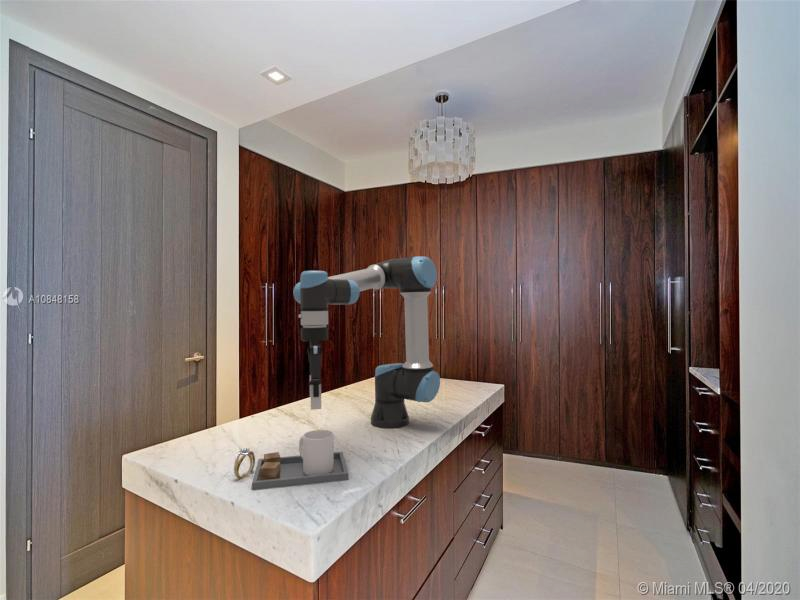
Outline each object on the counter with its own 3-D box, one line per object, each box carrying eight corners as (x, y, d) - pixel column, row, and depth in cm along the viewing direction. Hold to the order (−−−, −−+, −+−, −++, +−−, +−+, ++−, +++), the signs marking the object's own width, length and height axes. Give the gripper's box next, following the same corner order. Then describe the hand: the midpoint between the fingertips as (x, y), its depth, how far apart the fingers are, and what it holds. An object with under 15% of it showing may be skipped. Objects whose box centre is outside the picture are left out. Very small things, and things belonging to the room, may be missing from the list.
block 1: (278, 466, 115) (278, 451, 115) (280, 471, 111) (280, 456, 111) (263, 468, 113) (263, 454, 113) (265, 473, 110) (265, 459, 110)
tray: (342, 459, 121) (342, 451, 121) (348, 482, 106) (348, 473, 106) (258, 467, 116) (258, 459, 116) (251, 493, 100) (251, 483, 100)
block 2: (280, 477, 107) (280, 462, 107) (275, 483, 103) (275, 468, 103) (265, 477, 108) (265, 462, 108) (259, 483, 104) (259, 468, 104)
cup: (317, 480, 106) (317, 441, 106) (288, 469, 113) (288, 432, 113) (339, 469, 112) (339, 433, 112) (310, 459, 119) (310, 425, 119)
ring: (249, 472, 112) (249, 444, 112) (258, 474, 111) (258, 445, 111) (229, 483, 106) (230, 452, 106) (239, 485, 105) (239, 454, 105)
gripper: (300, 324, 123) (301, 393, 123) (300, 329, 99) (301, 416, 99) (325, 323, 125) (326, 391, 125) (331, 329, 101) (332, 413, 101)
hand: (315, 402), depth 112 cm, fingers open, 13 cm apart
